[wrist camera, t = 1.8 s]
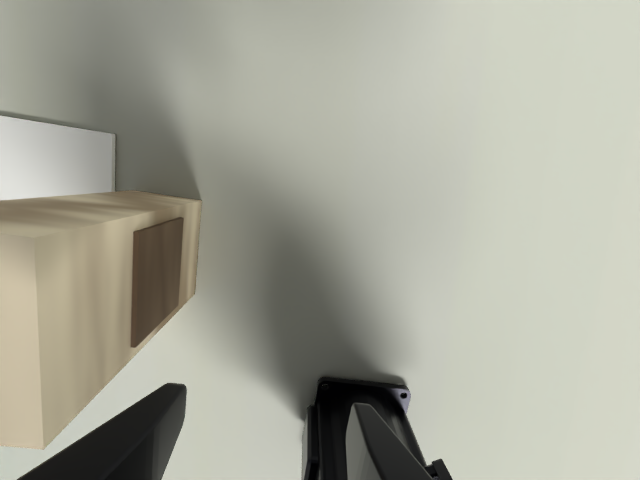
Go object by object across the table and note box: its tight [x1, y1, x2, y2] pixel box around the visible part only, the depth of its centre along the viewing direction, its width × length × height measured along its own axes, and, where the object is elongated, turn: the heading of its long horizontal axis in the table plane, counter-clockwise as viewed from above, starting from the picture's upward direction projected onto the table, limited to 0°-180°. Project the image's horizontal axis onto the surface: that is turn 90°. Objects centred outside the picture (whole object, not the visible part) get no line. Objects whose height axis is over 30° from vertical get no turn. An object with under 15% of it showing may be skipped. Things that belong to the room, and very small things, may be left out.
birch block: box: [0, 190, 202, 450], centre depth 13 cm, size 4×6×11 cm
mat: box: [0, 116, 115, 200], centre depth 17 cm, size 12×12×1 cm
